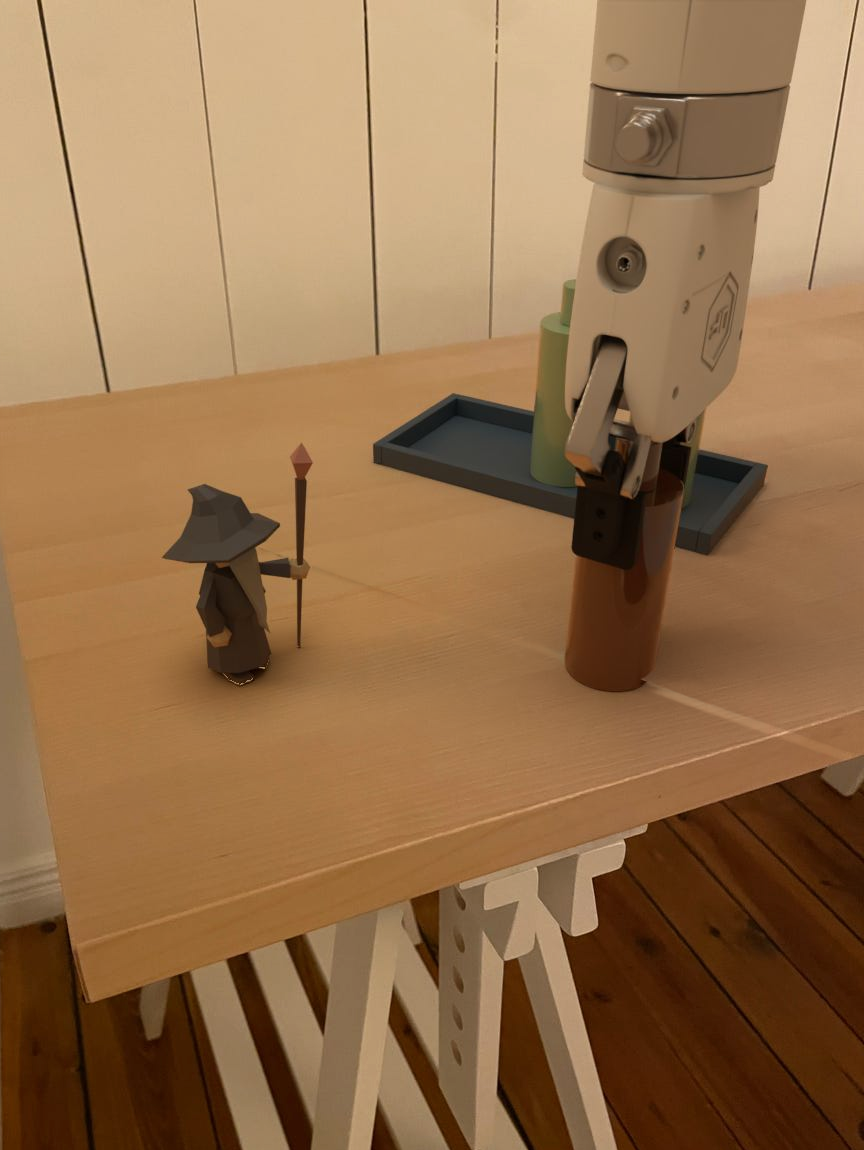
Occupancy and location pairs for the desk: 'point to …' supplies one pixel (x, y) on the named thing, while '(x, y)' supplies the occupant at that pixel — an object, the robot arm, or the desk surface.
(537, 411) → the green bottle
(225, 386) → the desk surface
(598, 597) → the brown bottle
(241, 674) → the wizard figurine
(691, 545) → the tray
